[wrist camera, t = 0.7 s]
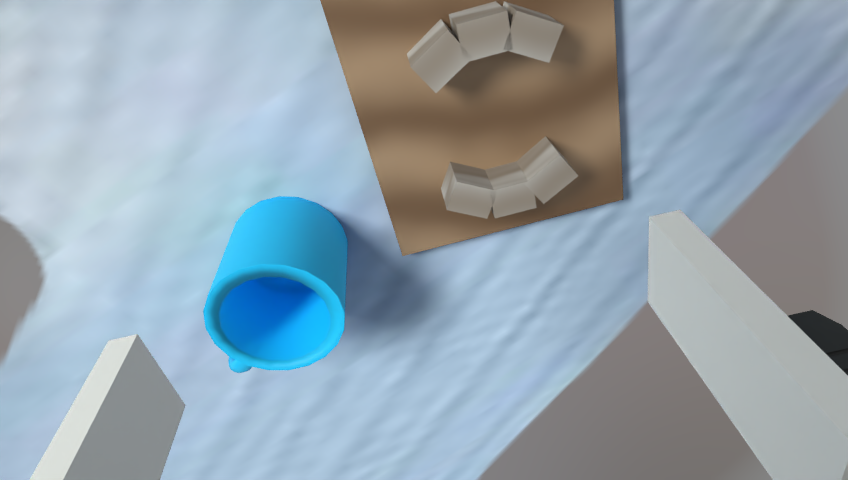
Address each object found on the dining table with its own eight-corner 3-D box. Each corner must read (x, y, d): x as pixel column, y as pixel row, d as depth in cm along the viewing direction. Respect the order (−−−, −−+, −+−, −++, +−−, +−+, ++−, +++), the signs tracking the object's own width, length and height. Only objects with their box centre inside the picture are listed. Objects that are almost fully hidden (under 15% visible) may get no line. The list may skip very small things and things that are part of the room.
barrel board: (318, -14, 30) (312, -2, 27) (601, -94, 30) (633, -92, 26) (401, 246, 40) (405, 280, 37) (616, 191, 39) (641, 220, 36)
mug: (260, 175, 36) (236, 241, 29) (368, 227, 39) (369, 298, 32) (194, 302, 41) (160, 383, 34) (295, 339, 44) (282, 422, 37)
